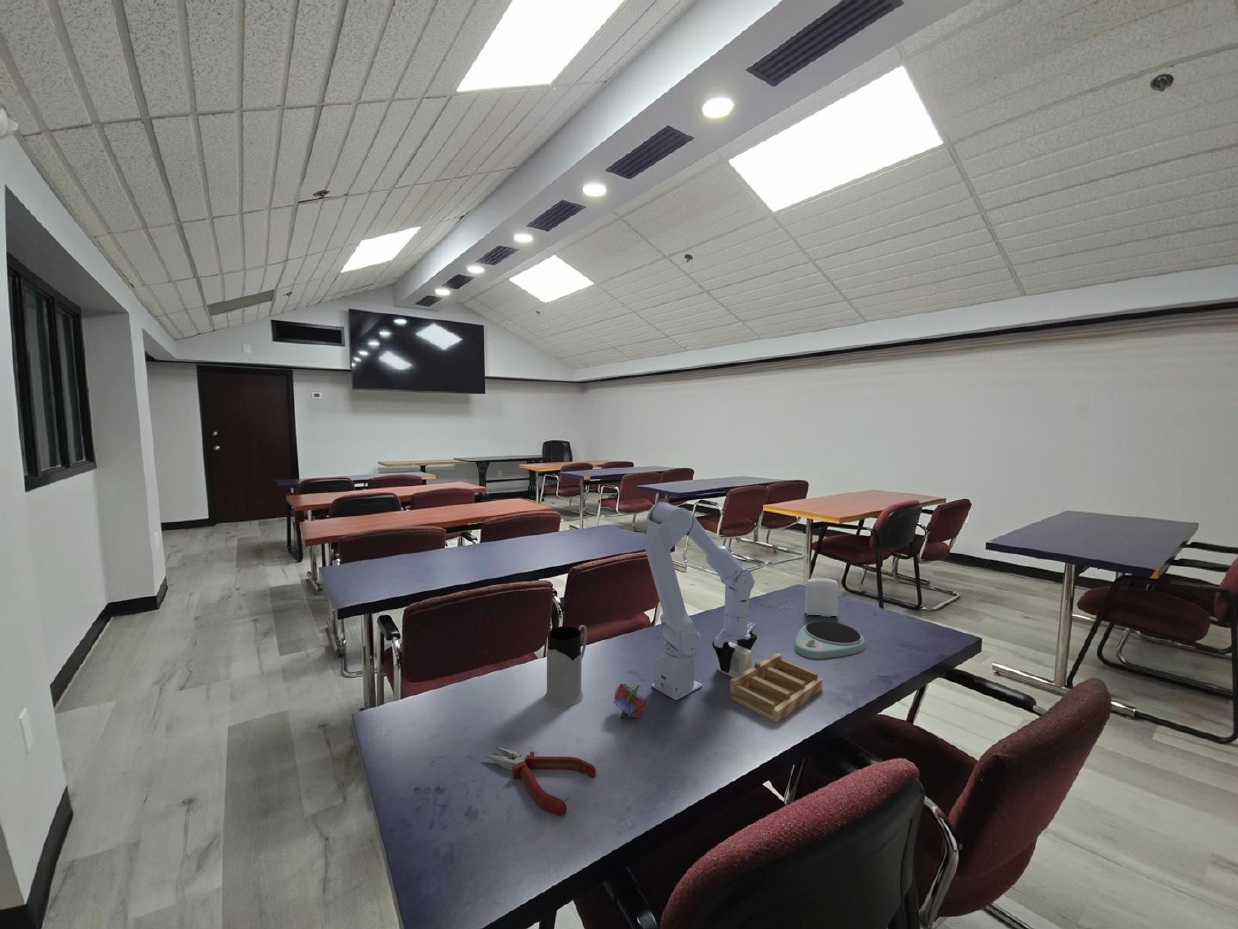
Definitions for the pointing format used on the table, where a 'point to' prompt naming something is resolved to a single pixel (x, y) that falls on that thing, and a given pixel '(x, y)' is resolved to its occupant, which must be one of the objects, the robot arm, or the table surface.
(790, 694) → the wooden compartment tray
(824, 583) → the photo printer
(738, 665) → the white rectangular box
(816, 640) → the electric hot plate
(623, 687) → the geometric puzzle
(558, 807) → the pliers
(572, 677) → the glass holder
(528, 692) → the table surface
